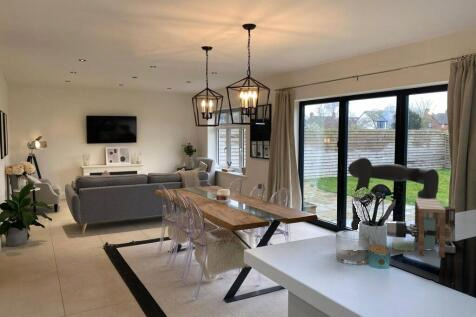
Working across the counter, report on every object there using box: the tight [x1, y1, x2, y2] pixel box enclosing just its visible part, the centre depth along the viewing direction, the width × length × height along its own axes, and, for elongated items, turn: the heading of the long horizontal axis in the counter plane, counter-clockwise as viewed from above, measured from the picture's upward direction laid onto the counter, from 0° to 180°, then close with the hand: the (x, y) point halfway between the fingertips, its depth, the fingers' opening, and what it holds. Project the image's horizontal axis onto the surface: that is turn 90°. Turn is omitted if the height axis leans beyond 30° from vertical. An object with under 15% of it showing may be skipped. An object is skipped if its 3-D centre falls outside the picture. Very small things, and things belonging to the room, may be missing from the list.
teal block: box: [424, 217, 436, 251], centre depth 166 cm, size 5×5×14 cm
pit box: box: [445, 241, 456, 255], centre depth 164 cm, size 9×4×3 cm, turn 158°
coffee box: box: [431, 205, 456, 242], centre depth 179 cm, size 9×6×16 cm
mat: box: [392, 240, 416, 252], centre depth 171 cm, size 12×9×1 cm
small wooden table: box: [414, 198, 446, 258], centre depth 166 cm, size 23×10×21 cm, turn 158°
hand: (435, 231), depth 165 cm, fingers closed on teal block, 4 cm apart
